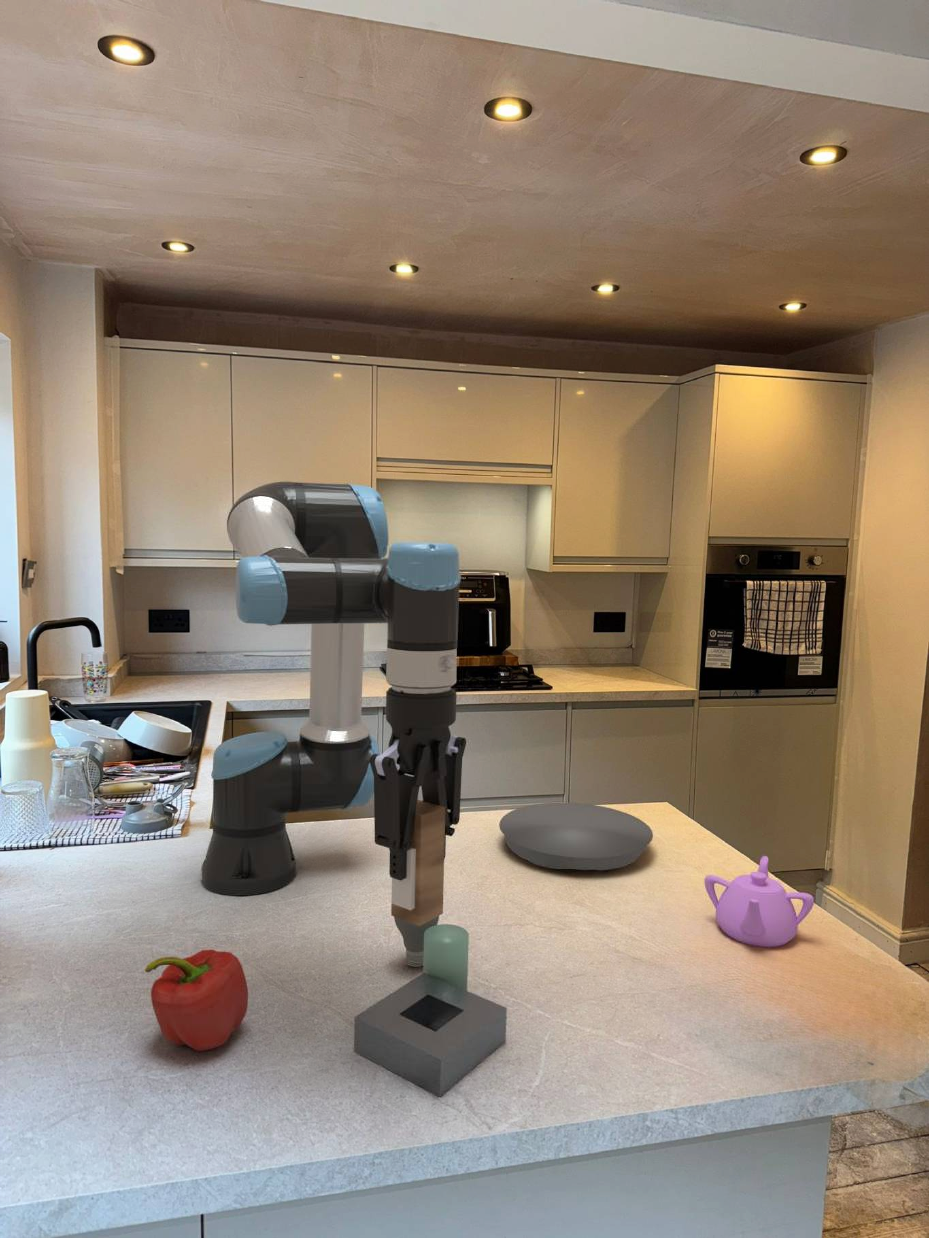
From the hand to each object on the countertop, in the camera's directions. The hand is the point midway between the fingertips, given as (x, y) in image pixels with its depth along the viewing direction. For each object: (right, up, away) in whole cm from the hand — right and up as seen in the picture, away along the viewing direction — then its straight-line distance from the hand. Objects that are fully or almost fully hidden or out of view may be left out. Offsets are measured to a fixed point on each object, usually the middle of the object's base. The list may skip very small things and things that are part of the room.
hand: (417, 898), depth 90 cm
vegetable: (-25, -17, +2) cm, 30 cm away
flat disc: (+25, -13, +62) cm, 68 cm away
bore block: (+1, -17, +2) cm, 17 cm away
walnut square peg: (0, -2, 0) cm, 2 cm away
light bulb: (-1, -16, +19) cm, 25 cm away
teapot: (+48, -16, +31) cm, 59 cm away
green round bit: (+3, -16, +12) cm, 20 cm away
